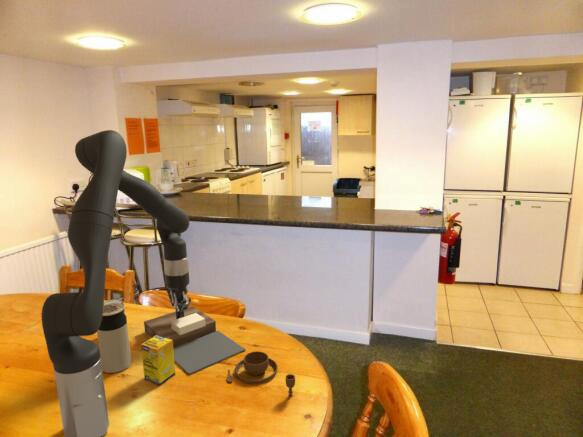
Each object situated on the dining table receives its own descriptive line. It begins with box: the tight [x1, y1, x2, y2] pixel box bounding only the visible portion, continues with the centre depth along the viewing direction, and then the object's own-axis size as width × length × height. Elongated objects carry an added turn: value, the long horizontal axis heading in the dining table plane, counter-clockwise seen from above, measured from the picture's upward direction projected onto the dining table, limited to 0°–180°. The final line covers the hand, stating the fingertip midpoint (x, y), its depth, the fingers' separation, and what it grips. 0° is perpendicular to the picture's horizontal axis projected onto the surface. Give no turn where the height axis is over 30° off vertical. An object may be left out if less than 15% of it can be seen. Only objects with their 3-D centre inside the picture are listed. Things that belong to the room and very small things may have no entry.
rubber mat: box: [173, 330, 246, 376], centre depth 127 cm, size 16×19×1 cm
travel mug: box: [96, 303, 132, 374], centre depth 118 cm, size 8×8×18 cm
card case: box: [171, 313, 206, 335], centre depth 133 cm, size 6×9×2 cm, turn 132°
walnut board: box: [143, 305, 217, 348], centre depth 138 cm, size 16×18×4 cm
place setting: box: [226, 350, 296, 398], centre depth 112 cm, size 18×20×6 cm
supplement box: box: [140, 335, 176, 386], centre depth 113 cm, size 6×6×11 cm
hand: (180, 320), depth 137 cm, fingers closed
